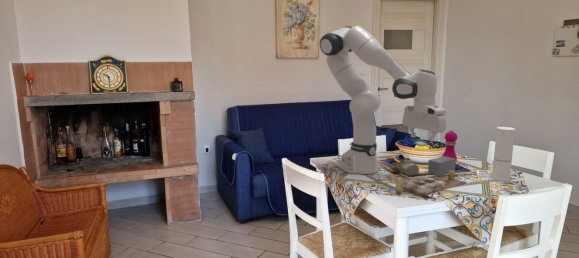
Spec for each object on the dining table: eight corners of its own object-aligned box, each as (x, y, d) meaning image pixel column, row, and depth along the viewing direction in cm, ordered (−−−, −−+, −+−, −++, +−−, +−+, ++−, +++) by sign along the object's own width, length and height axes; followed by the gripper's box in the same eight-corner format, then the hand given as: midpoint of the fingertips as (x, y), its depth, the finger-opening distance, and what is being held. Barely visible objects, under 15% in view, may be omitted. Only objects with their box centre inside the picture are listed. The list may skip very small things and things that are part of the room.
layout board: (402, 190, 175) (403, 176, 174) (444, 178, 190) (445, 166, 188) (425, 198, 165) (426, 184, 164) (467, 186, 180) (468, 173, 178)
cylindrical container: (507, 180, 187) (513, 127, 182) (510, 185, 180) (516, 130, 175) (490, 179, 189) (495, 126, 184) (492, 183, 182) (498, 129, 177)
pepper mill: (457, 169, 204) (460, 130, 200) (442, 168, 205) (445, 130, 201) (454, 165, 211) (457, 127, 207) (440, 164, 212) (442, 127, 208)
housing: (427, 176, 194) (428, 159, 192) (443, 171, 200) (445, 156, 199) (438, 179, 189) (439, 162, 187) (454, 175, 195) (455, 159, 194)
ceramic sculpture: (406, 161, 187) (388, 155, 201) (405, 180, 188) (388, 172, 202) (425, 160, 190) (407, 154, 204) (425, 178, 191) (407, 171, 205)
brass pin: (394, 193, 171) (395, 177, 170) (398, 192, 173) (399, 176, 171) (399, 195, 169) (399, 179, 168) (403, 193, 170) (404, 178, 169)
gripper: (400, 105, 181) (398, 135, 184) (440, 111, 165) (437, 144, 168) (409, 104, 185) (407, 134, 188) (449, 110, 168) (446, 142, 171)
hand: (422, 139), depth 177 cm, fingers open, 8 cm apart
